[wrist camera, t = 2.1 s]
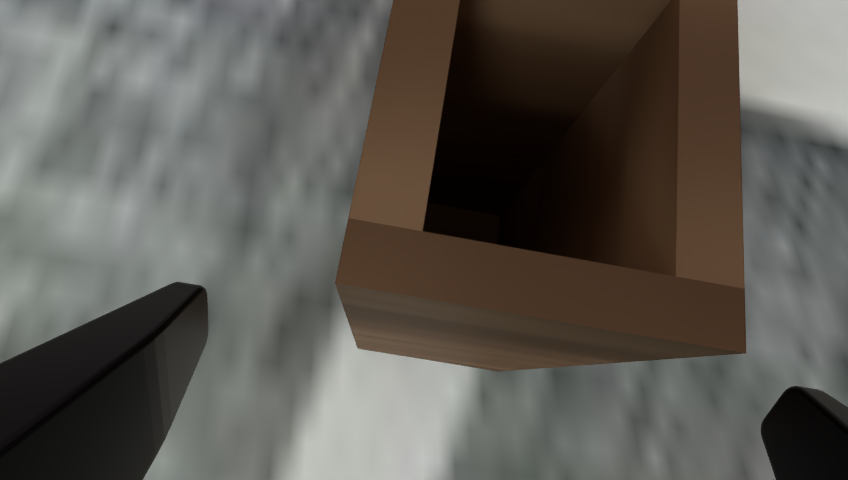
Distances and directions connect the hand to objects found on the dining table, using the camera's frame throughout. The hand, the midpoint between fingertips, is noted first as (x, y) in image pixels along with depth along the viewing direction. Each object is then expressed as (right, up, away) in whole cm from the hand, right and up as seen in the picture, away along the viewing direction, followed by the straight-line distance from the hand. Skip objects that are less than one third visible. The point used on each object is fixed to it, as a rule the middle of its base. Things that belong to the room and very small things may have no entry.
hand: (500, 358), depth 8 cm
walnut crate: (-1, 0, +11) cm, 11 cm away
